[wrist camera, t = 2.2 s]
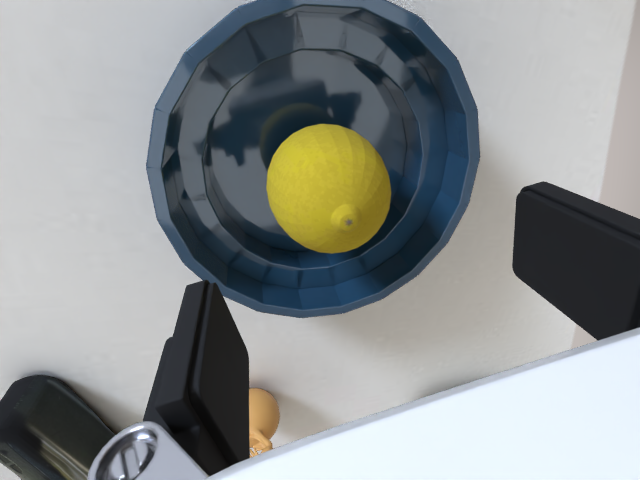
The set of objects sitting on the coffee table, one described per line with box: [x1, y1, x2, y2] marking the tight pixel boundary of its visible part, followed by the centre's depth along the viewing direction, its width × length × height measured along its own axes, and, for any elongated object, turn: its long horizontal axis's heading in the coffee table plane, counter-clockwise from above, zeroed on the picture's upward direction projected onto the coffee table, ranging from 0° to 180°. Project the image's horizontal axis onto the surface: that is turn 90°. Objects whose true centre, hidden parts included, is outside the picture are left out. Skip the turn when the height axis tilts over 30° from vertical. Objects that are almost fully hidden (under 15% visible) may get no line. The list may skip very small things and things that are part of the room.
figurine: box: [249, 388, 280, 458], centre depth 23 cm, size 8×6×12 cm
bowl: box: [146, 0, 480, 318], centre depth 18 cm, size 15×15×4 cm
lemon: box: [266, 124, 391, 254], centre depth 16 cm, size 6×6×8 cm
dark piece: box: [0, 375, 115, 480], centre depth 24 cm, size 5×3×15 cm
